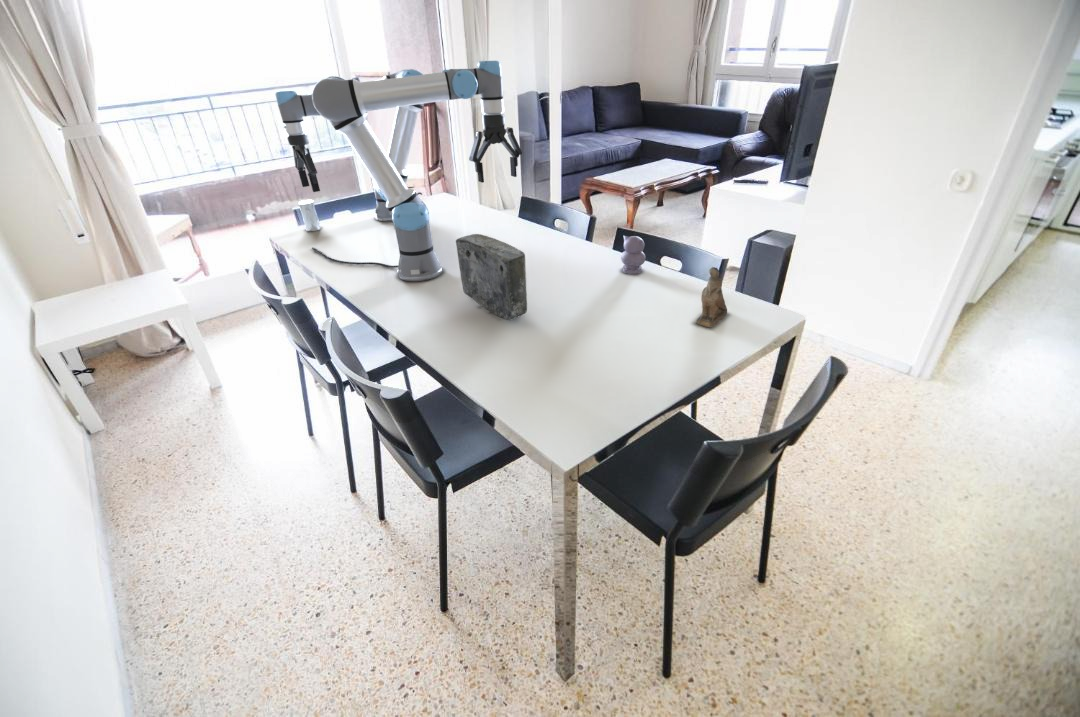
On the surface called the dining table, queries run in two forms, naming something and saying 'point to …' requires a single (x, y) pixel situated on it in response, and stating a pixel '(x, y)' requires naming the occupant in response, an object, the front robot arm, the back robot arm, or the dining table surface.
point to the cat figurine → (633, 254)
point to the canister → (309, 215)
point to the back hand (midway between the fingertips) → (311, 189)
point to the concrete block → (493, 274)
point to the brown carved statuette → (712, 301)
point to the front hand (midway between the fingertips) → (497, 179)
